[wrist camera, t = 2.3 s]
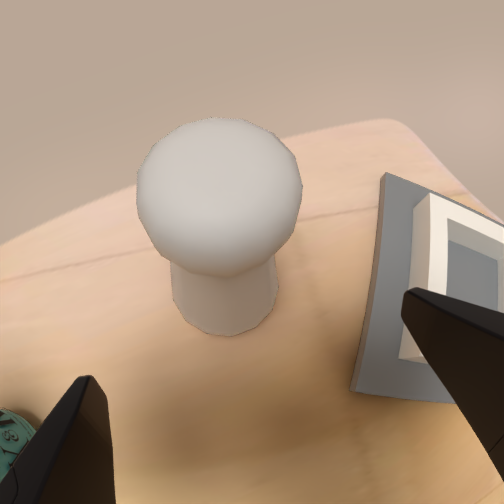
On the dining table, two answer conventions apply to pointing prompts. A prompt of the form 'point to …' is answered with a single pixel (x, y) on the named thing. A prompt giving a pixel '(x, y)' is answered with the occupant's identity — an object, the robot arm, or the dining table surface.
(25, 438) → the beverage bottle
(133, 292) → the dining table surface
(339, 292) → the dining table surface
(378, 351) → the dock
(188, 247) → the salt shaker
